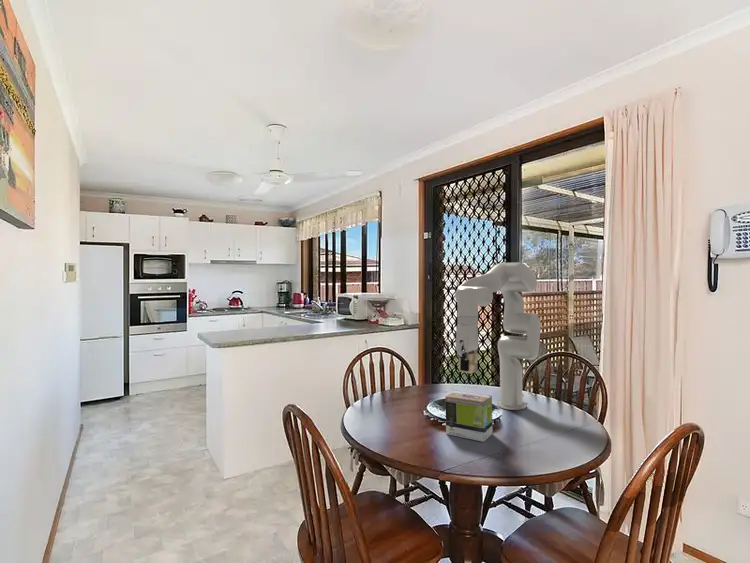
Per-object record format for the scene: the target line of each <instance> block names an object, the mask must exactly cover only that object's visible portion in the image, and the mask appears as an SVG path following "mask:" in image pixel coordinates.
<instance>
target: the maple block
mask: <svg viewBox="0 0 750 563" xmlns="http://www.w3.org/2000/svg"><path fill="white" fill-rule="evenodd" d="M464 351H465V350H464ZM465 352H466V351H465ZM463 354H464V355H466V353H463ZM468 360H469V371H462V370H460V357H459V356H458V371H459V372H460V373H466V374H474V373H476V372H478V351H477V352H469V353H468Z"/></svg>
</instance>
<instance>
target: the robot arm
mask: <svg viewBox="0 0 750 563" xmlns="http://www.w3.org/2000/svg"><path fill="white" fill-rule="evenodd" d="M537 285H538V280H537V277H536V275H535V274H534V272H533V271H532V270H531V268H530V267H528V266H527V265H526V264H524V263H522V262H519V261H517V262H499V263H496V264H495V265H494V266H493V267H492V268H491V269H490V270H488V271H487V272H486V273H485V274H484V273H483V274H482V275H479V276H475V277H473V278H470V279H467V280H466V281H464V282H463V283H461V284H460V285H459V286H458V287H457V289H456V291H455V294H454V298H455V301H456V303H457V327H456V333H455V351H456V354H457V355H458V358H459V357H460V370H462V371H469V360H468V353H469V352H477V353H478V350H479V342H480V341H479V329H478V328H479V327H478V326H479V307H487V306H489V305H490V304H491V303H492V302H493V300H494V294H493V293H496V292H498V291H499V290H500V292H501V294H502V297H503V300H504V307H503V308H504V309H503V310H504V311H503V322H502V327H503V330H504V331H505V332H507V333H511V334H519V335H521V334H522V335H526V336H516V335H515V336H514V335H503V336H501V337H499V339H498V340H497V352H498V356H499V357H498V358H499V377H500V378H499V380H500V381H499V385H500V386H499V390H500V391H499V392H500V393H499V394H500V397H499V400H498V401H496V405H497V407H499V408H500V409H504V410H509V411H521V410H524V409H526V408H527V403H526V402H524V401H523V397H524V393H523V366H522V363H521V362H520V360H536V359H537V358H538V355H539V351H540V341H541V340H540V339H541V320H540V317H539V316H538V314H536V313H534V312H525V299H523V297H522V295H521V294H520V293H531V292H534V291H535V290H536V288H537ZM465 351H466V352H465ZM463 353H466V355H464V354H463ZM519 359H520V360H519Z"/></svg>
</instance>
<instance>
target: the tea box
mask: <svg viewBox="0 0 750 563" xmlns="http://www.w3.org/2000/svg"><path fill="white" fill-rule="evenodd" d="M444 398H445V433H446V435H450V436H453V437H459V438H462V439H463V438H464V439H468V440H473V441H477V442H480V443H481V442H482V443H485V442H486V441H487V440H488V438H490V437H491V436H492V435H493V399H492V398H493V396H492V395H490V394H482V393H477V392H476V393H475V392H469V391H461V390H454V391H452V392H451V393H449V394H447V395H446V396H444Z"/></svg>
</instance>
